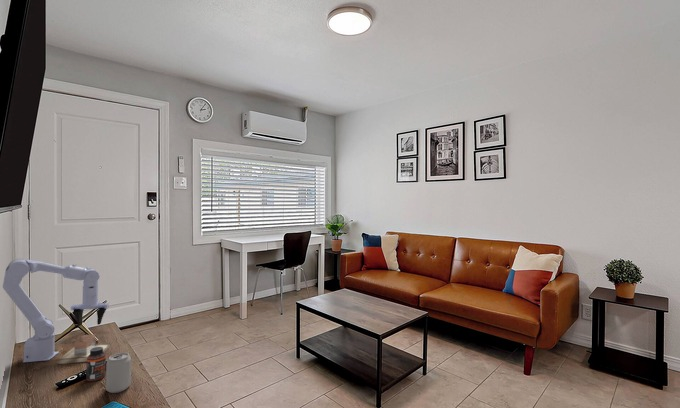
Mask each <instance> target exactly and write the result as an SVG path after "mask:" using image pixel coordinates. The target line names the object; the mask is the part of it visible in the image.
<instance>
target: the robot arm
mask: <svg viewBox="0 0 680 408" xmlns="http://www.w3.org/2000/svg"><path fill="white" fill-rule="evenodd" d="M40 271H41V272H46V273H52V274H53V273H54V274H59V275H61V276H62V277H63V278H64V279H65V278H66V279H70V280H76V281H82V282H83V285H82V304H81V303H80V304H72V305H71V306H70V311H72V314H73V317H74V318H75V320H76V323H77V326H78V327H80V326H82V325H83V316H84V310H94V309H95V310H96V309H97V310H96V315H97V321H96V324H97V325H99V326H100V325H101V323H102V320H103V317H104V316H105V315H104V314H105V313H106V311H107V309H108V308H109V304H110V303H107V302H105V303H103V302H99V301H98V300H99V297H98V296H99V280H100V276H101V275H100V274H99V272H98V271H97V270H96V269H93V268H91V267H87V266H86V267H81V266H77V264H74V263H73V264H68V265H66V266H62V265H57V264H54V263H53V264H52V263H48V262H44V261H40V260H34V259H24V258H16V259H13V260H12V261H11V262H10V263H9V264H8V266H6V268H5V272H4V277H3V283H2V288H3V290H4V291H5V292H6V294H7V296H8V297H9V298H10V299H11V300H12V301H13V303H14V304H15V305H16V307H17V308H18V309H19V311H20V312H21V313H22V314H23V315H24V317H25V318H26V319H27V321H28V322H29V324H30V326H31V327H32V328H33V331H34V335H33V336H32V337H29V338H27V339H26V340H25V343H24V345H23V360H22V363H33V362H43V361H50V360H51V359H52V358H54V357H55V356H56V355H58V354H59V353H60V351H55V348H56V347H55V345H56V344H55V343H56V341H55V338H56V335H55V327H54V325H53V324H54V323H53V321H52V320H51V319H50V318H48V317H47V318H46V316H45V315H44V314H43V313H42V312H41V311H40V309H39V308H38V307H37V305H36V304H35V303H34V301H33V300H32V298H30V296H29V295H28V293H27V292H26V291H25V290H24V288H23V287H22V286H21V282H22V280H23V279H24V277H26V275H28V273H29V272H30V274H33V273H36V272H40Z"/></svg>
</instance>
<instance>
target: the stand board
mask: <svg viewBox="0 0 680 408" xmlns="http://www.w3.org/2000/svg"><path fill="white" fill-rule="evenodd" d="M95 347H103V352H104V353H106V351H107V350H108V349H109V348H111V344H110V343H96V344H95ZM74 351H75V345H74V346H73V347H72V348H71V349H69V350H68V351H67V352H66V353H65V354H63V356H61V357H59V358H58V359H57V365H60V364H62V365H63V364H72V363H82V362H84V363H85V362H86V363H87V357H88V356H89V355H90V353H89V354H88V355H85V356H74Z"/></svg>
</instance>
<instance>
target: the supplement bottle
mask: <svg viewBox="0 0 680 408" xmlns="http://www.w3.org/2000/svg"><path fill="white" fill-rule="evenodd" d="M106 357H107V355H106V352H103V347H95V348H92V349H91V350H90V355H89V356H88V357H87V361H86V377H85V378H86V381H87V382H96V381H100V380H101V379H104V377H106V363H107V360H106V359H107V358H106Z"/></svg>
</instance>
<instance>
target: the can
mask: <svg viewBox="0 0 680 408" xmlns="http://www.w3.org/2000/svg"><path fill="white" fill-rule="evenodd" d="M105 369H106V370H105V390H106V391H107V392H109V393H111V394H117V393H121V392H123V391H125V390H127V389H128V388H129V387H130V386H131V384H132V381H131V380H132V379H131V378H132V377H131V376H132V375H131V373H132V372H131V371H132V358H131V356H130V354H129V352H118V353H115V354H112V355H110V356H109V358H108V360H106V364H105Z"/></svg>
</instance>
